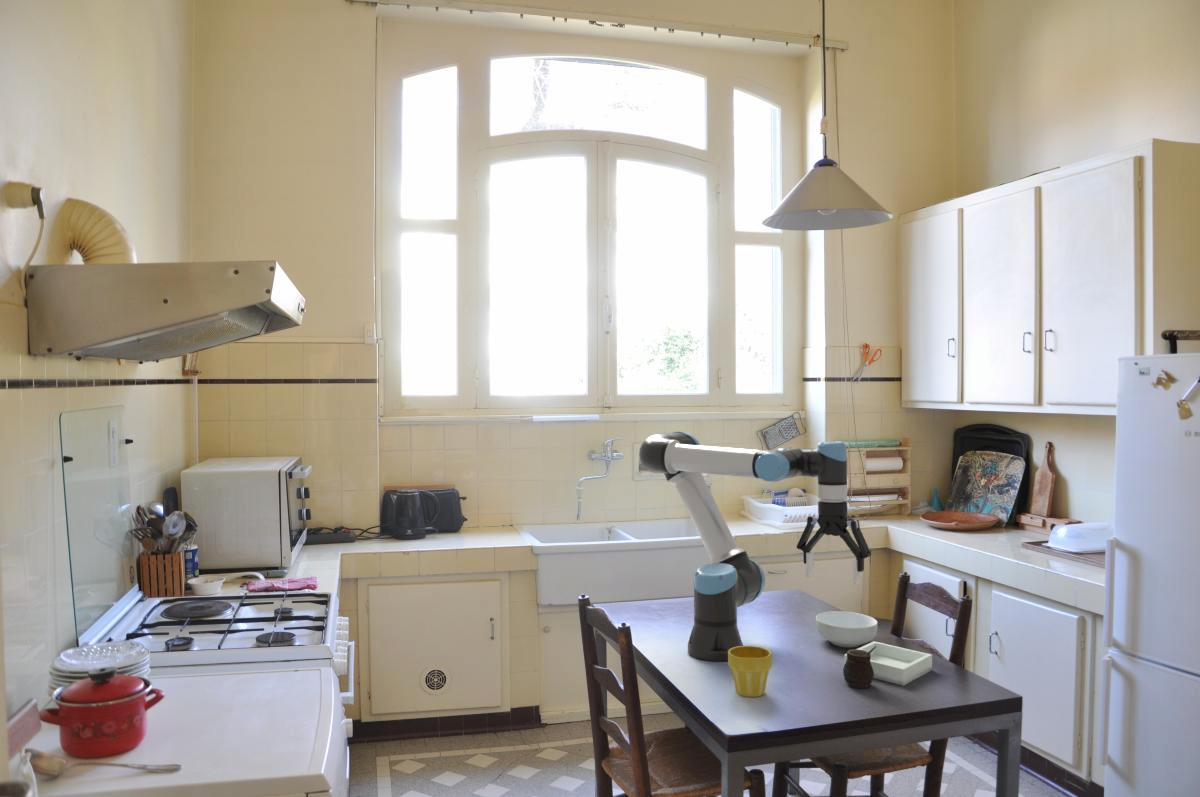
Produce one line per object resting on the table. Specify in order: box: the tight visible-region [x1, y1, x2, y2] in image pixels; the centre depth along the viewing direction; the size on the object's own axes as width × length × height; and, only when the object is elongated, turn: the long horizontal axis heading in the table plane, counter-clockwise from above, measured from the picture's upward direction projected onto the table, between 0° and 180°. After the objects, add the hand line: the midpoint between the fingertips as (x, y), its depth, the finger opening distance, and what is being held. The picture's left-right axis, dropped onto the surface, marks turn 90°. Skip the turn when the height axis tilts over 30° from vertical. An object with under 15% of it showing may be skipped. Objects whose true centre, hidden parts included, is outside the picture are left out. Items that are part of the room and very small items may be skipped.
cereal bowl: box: [815, 610, 878, 648], centre depth 242 cm, size 17×17×7 cm
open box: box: [843, 640, 933, 687], centre depth 219 cm, size 16×16×4 cm
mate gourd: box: [842, 646, 876, 689], centre depth 209 cm, size 7×8×10 cm
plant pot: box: [727, 645, 773, 698], centre depth 204 cm, size 10×10×10 cm
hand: (833, 580), depth 227 cm, fingers open, 13 cm apart
